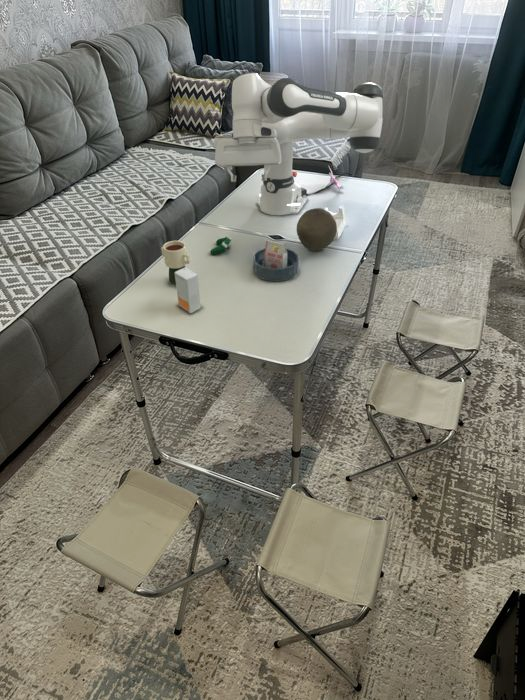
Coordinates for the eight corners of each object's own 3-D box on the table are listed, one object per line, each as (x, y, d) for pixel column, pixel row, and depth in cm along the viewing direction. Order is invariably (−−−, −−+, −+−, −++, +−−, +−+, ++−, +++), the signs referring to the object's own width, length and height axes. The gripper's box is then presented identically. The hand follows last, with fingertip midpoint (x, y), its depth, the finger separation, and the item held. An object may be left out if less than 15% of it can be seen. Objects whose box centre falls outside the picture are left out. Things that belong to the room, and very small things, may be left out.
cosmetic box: (178, 305, 155) (173, 271, 148) (189, 300, 158) (185, 266, 150) (190, 314, 152) (186, 279, 144) (201, 308, 154) (198, 274, 147)
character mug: (198, 280, 167) (195, 245, 158) (185, 291, 162) (181, 254, 154) (172, 272, 171) (167, 237, 163) (158, 282, 166) (153, 246, 158)
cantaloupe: (293, 241, 188) (294, 202, 178) (331, 240, 189) (334, 201, 179) (298, 260, 177) (300, 220, 167) (338, 258, 178) (342, 218, 168)
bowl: (267, 255, 179) (267, 243, 176) (305, 266, 173) (306, 253, 170) (245, 275, 169) (244, 261, 166) (284, 287, 164) (284, 273, 160)
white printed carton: (268, 264, 173) (269, 237, 167) (287, 268, 171) (287, 242, 165) (264, 269, 171) (264, 242, 165) (282, 274, 169) (283, 246, 162)
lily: (333, 200, 219) (346, 180, 214) (311, 185, 220) (324, 165, 216) (340, 198, 229) (352, 179, 225) (319, 184, 231) (331, 165, 226)
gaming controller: (216, 260, 181) (227, 250, 177) (209, 252, 179) (220, 242, 176) (223, 247, 188) (234, 238, 184) (216, 240, 186) (226, 231, 183)
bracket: (328, 225, 200) (325, 207, 196) (346, 224, 197) (343, 205, 193) (320, 240, 190) (316, 221, 186) (338, 238, 187) (335, 219, 183)
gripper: (211, 132, 151) (213, 181, 154) (280, 129, 149) (281, 179, 152) (215, 136, 157) (217, 183, 160) (281, 133, 155) (282, 180, 159)
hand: (249, 181), depth 156 cm, fingers open, 8 cm apart
